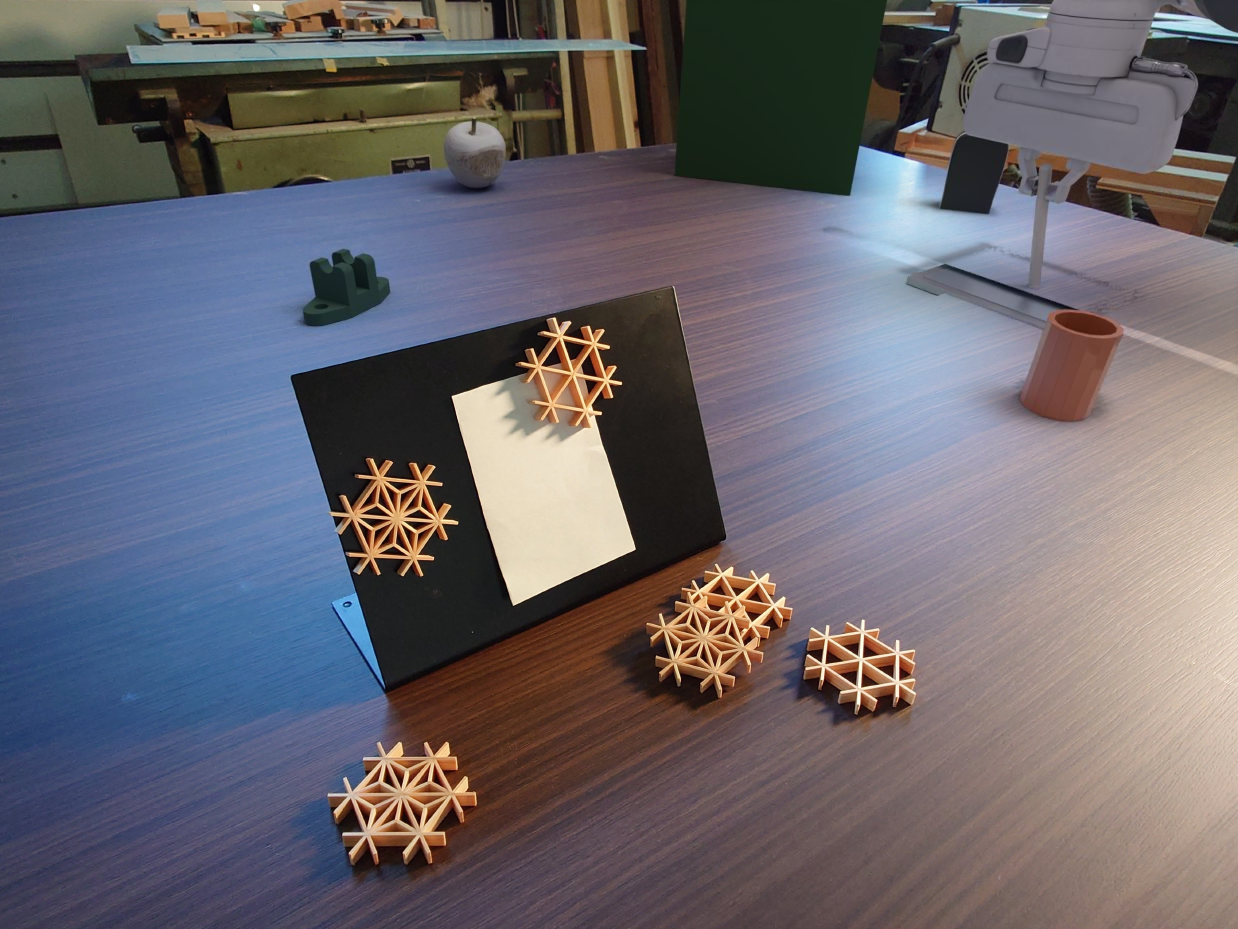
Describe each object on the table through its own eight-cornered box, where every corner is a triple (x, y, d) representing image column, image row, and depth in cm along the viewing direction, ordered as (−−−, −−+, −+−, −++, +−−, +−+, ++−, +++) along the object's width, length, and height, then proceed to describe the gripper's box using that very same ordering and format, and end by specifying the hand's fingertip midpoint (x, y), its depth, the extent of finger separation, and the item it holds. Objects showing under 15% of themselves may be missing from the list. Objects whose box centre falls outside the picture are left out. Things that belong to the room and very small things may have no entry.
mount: (369, 284, 87) (362, 238, 84) (402, 292, 85) (396, 245, 82) (292, 320, 79) (281, 270, 76) (326, 330, 77) (317, 279, 74)
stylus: (1041, 289, 88) (1055, 161, 83) (1036, 292, 88) (1049, 163, 82) (1030, 288, 89) (1043, 162, 84) (1025, 291, 88) (1037, 163, 83)
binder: (673, 176, 127) (689, -68, 109) (692, 155, 138) (710, -69, 121) (850, 195, 121) (898, -60, 103) (854, 171, 133) (898, -61, 115)
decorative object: (480, 176, 124) (475, 105, 118) (519, 187, 119) (517, 115, 113) (434, 187, 118) (427, 113, 112) (473, 199, 113) (468, 124, 108)
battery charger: (986, 216, 114) (1011, 130, 108) (988, 224, 111) (1013, 136, 104) (934, 211, 116) (956, 126, 109) (935, 218, 112) (957, 131, 106)
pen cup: (1099, 414, 68) (1136, 327, 63) (1066, 434, 65) (1103, 343, 61) (1038, 389, 71) (1069, 304, 67) (1005, 406, 69) (1035, 319, 64)
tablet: (1132, 305, 88) (1135, 296, 88) (1057, 340, 80) (1060, 331, 79) (983, 256, 100) (986, 249, 99) (905, 283, 92) (907, 274, 91)
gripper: (1221, 63, 72) (1157, 219, 79) (1008, 36, 85) (972, 171, 93) (1190, 68, 68) (1127, 230, 76) (975, 39, 82) (940, 179, 89)
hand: (1040, 197), depth 84 cm, fingers closed on stylus, 1 cm apart
